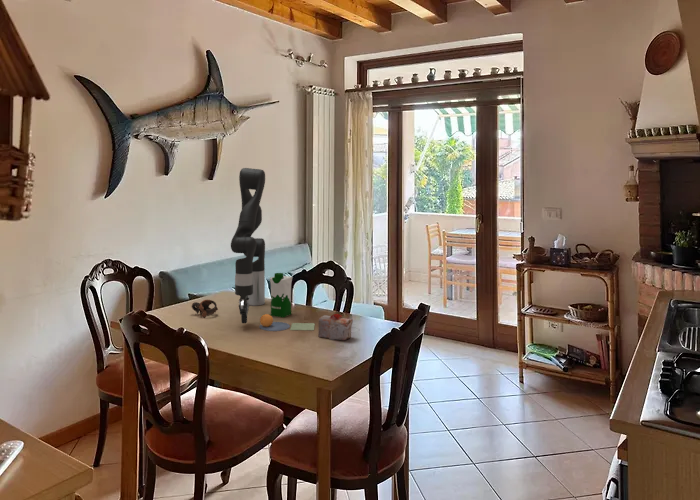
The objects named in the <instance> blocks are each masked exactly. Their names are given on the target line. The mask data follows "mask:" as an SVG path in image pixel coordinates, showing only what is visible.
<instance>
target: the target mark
mask: <svg viewBox="0 0 700 500" xmlns="http://www.w3.org/2000/svg"><path fill="white" fill-rule="evenodd" d="M258 327H259V329H261V330H262V331H268V332H280V331H285V330H288V329H290V328H291V325H290V324H289V323H286V322H282V321H273V323H272V325H271V326H269V327H264V326H262V325H261V324H259V326H258Z"/></svg>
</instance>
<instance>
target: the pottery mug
mask: <svg viewBox="0 0 700 500" xmlns="http://www.w3.org/2000/svg"><path fill="white" fill-rule="evenodd" d="M212 304H213V305H214V307H212V308H211V307H210V305H212ZM191 308H192V310H193V311H195V312H196V314H200V315H201V314H202V315H201V318H204V319H205V318H206V317H208V316H211V315H213V314H215V313H217V311H218V310H219V309H218V307H217V302H216V301H214V300H212V299H203V300H201V301H200V303H199V302H196V301H193V303H192V304H191Z"/></svg>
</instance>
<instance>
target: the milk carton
mask: <svg viewBox="0 0 700 500" xmlns="http://www.w3.org/2000/svg"><path fill="white" fill-rule="evenodd" d="M269 281H270V315H271V316H272V317H277V318H283V319H284V318H286V317H288V316H291V315H292V281H293V276H287V275H284V273H283V272H276V273H274V275H273V276H271V277H270V278H269Z"/></svg>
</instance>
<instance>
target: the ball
mask: <svg viewBox="0 0 700 500" xmlns="http://www.w3.org/2000/svg"><path fill="white" fill-rule="evenodd" d="M259 322H260V325H262V326H264V327H269V326H271V325H272V323H273V322H274V318H273V316H271V314H270V313H265V314H263V315H261V316H260V319H259Z"/></svg>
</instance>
